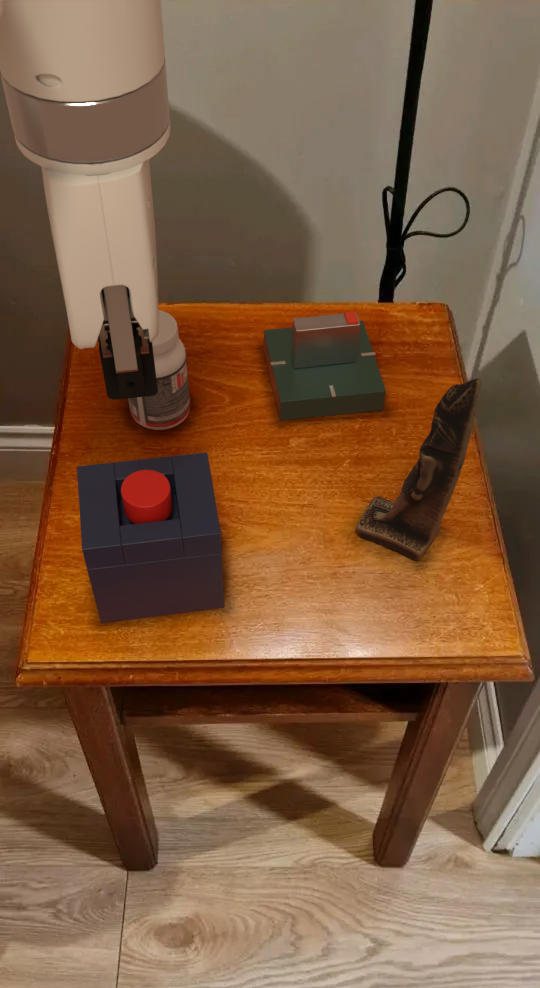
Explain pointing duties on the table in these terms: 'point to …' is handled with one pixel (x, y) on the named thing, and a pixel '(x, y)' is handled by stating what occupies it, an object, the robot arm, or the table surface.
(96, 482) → the button box
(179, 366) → the pill bottle
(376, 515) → the statue
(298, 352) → the tap handle
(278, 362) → the panel
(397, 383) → the table surface
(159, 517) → the red button
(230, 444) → the table surface
